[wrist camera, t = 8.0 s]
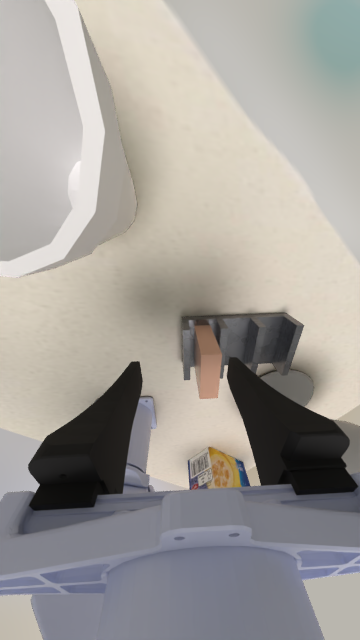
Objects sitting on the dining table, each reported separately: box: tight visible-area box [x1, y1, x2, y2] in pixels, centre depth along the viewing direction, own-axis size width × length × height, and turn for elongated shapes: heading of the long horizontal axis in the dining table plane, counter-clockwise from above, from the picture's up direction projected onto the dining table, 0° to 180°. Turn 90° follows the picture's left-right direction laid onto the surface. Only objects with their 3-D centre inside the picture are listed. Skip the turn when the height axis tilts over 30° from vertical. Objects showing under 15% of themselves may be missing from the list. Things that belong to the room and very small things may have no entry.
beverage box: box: [188, 447, 250, 490], centre depth 28 cm, size 7×11×22 cm, turn 50°
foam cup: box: [0, 0, 137, 278], centre depth 10 cm, size 10×9×13 cm
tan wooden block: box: [194, 325, 222, 399], centre depth 20 cm, size 2×6×6 cm, turn 1°
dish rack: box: [182, 313, 304, 380], centre depth 22 cm, size 14×8×4 cm, turn 92°
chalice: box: [260, 370, 360, 475], centre depth 22 cm, size 14×14×15 cm
